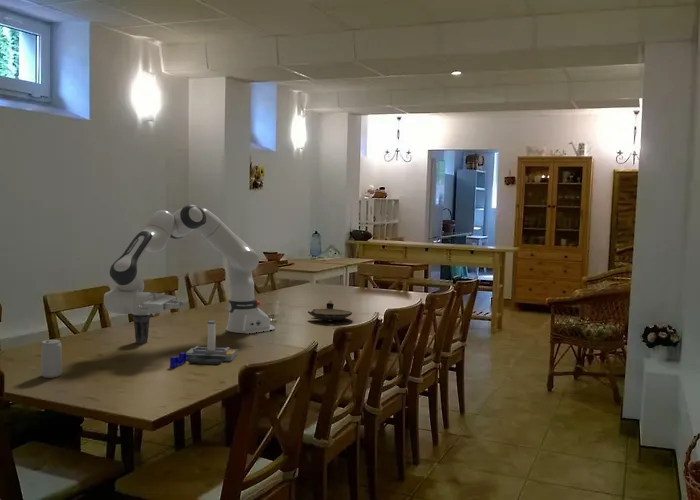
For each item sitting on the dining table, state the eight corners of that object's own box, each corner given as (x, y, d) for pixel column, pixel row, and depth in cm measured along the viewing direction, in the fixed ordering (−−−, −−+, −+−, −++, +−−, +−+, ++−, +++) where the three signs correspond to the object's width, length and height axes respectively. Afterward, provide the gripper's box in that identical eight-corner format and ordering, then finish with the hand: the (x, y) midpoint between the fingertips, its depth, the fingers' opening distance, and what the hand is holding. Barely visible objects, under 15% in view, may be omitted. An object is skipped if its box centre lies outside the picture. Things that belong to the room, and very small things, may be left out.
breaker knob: (207, 352, 252) (207, 321, 251) (209, 350, 255) (209, 320, 254) (213, 352, 252) (213, 322, 251) (215, 350, 255) (215, 320, 254)
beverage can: (45, 373, 225) (44, 339, 224) (64, 373, 225) (64, 339, 224) (38, 378, 218) (37, 343, 217) (57, 378, 219) (57, 343, 218)
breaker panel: (183, 359, 248) (183, 350, 247) (192, 352, 260) (192, 343, 259) (230, 361, 247) (230, 352, 247) (237, 354, 259) (237, 345, 259)
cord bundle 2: (188, 363, 242) (188, 360, 242) (190, 361, 245) (190, 358, 245) (219, 365, 242) (220, 361, 241) (221, 363, 245) (221, 359, 244)
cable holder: (177, 362, 245) (177, 352, 244) (185, 363, 244) (186, 352, 243) (166, 367, 237) (166, 356, 236) (175, 368, 236) (175, 357, 236)
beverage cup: (154, 341, 276) (154, 294, 275) (143, 344, 270) (143, 297, 268) (139, 339, 279) (139, 293, 277) (128, 343, 272) (128, 295, 270)
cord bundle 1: (201, 351, 262) (201, 347, 262) (203, 349, 265) (203, 345, 265) (230, 352, 262) (230, 348, 261) (232, 350, 265) (232, 347, 264)
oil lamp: (300, 322, 326) (300, 307, 326) (322, 313, 355) (322, 299, 354) (342, 326, 319) (343, 311, 319) (361, 316, 348) (361, 302, 347)
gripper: (135, 299, 242) (172, 301, 242) (154, 291, 262) (188, 292, 262) (135, 316, 243) (172, 317, 242) (154, 307, 263) (188, 308, 262)
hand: (180, 304), depth 252 cm, fingers open, 4 cm apart
